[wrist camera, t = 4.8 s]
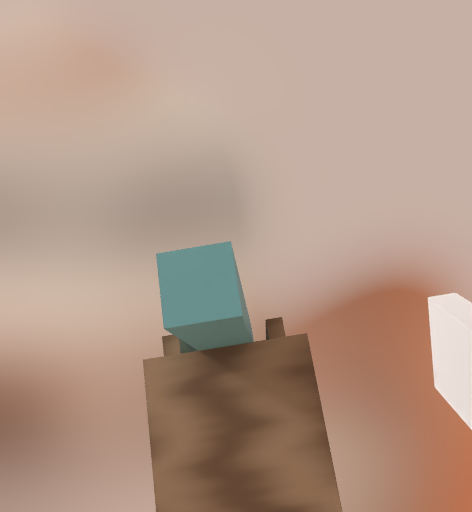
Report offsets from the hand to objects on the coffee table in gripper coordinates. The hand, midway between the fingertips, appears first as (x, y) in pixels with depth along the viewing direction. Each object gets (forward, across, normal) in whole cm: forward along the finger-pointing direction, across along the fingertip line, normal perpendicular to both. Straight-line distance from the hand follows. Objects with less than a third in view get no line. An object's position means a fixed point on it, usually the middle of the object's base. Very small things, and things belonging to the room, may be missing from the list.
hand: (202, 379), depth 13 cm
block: (+16, 0, -7) cm, 18 cm away
